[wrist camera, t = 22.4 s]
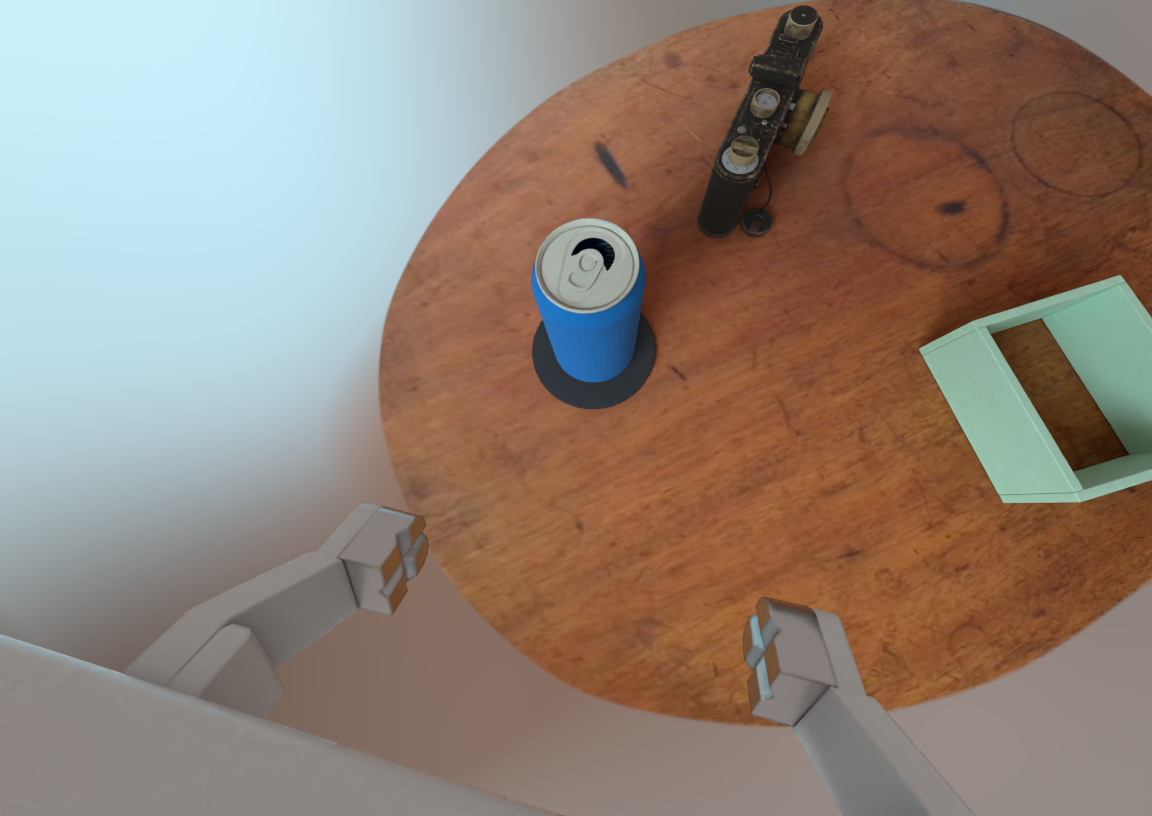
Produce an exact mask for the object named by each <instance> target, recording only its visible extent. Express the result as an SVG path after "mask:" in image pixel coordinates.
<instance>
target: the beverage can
mask: <svg viewBox="0 0 1152 816" xmlns="http://www.w3.org/2000/svg"><path fill="white" fill-rule="evenodd" d="M645 280H646V273H645V266H644V263H643V260H642V257H641V255H640V253H639V251H638V250H637V248H636V246H635V243H634V242H633V240H632V239H631V237H630V236H629V235H628V234H627V233H626V232H625V231H624V230H623V229H622V228H620V227H619V226H617V225H615V224H613V223H611V222H608V221H605V220H601V219H594V218H585V219H578V220H574V221H571V222H568V223H566V224H564V225H562V226H560V227H558V228H557V229H556V230H554V231H553V232H552V233H551V234H550V235H549V236H548V237H547V238H546V239H545V240H544V242H543V243H542V245H541V247H540V249H539V251H538V254H537V257H536V261H535V264H534V266H533V271H532V290H533V294H534V297H535V300H536V302H537V305H538V308H539V311H540V314H541V317H542V319H543V322H544V325H545V328H546V331H547V334H548V336H549V339H550V342H551V345H552V348H553V350H554V353H555V356H556V359H557V361H558V363H559V365H560V366H561V367H562V369H563V370H564V371H565V372H566V373H568V374H569V375H570V376H572V377H574V378H576V379H578V380H581V381H585V382H602V381H606V380H609V379H612V378H613V377H615V376H617V375H618V374H620V373H621V372H622V371H623V370H624V369H625V368H626V367H627V366H628V364H629V363H630V361H631V359H632V357H633V354H634V350H635V344H636V337H637V331H638V325H639V319H640V312H641V306H642V300H643V294H644V287H645Z"/></svg>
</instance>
